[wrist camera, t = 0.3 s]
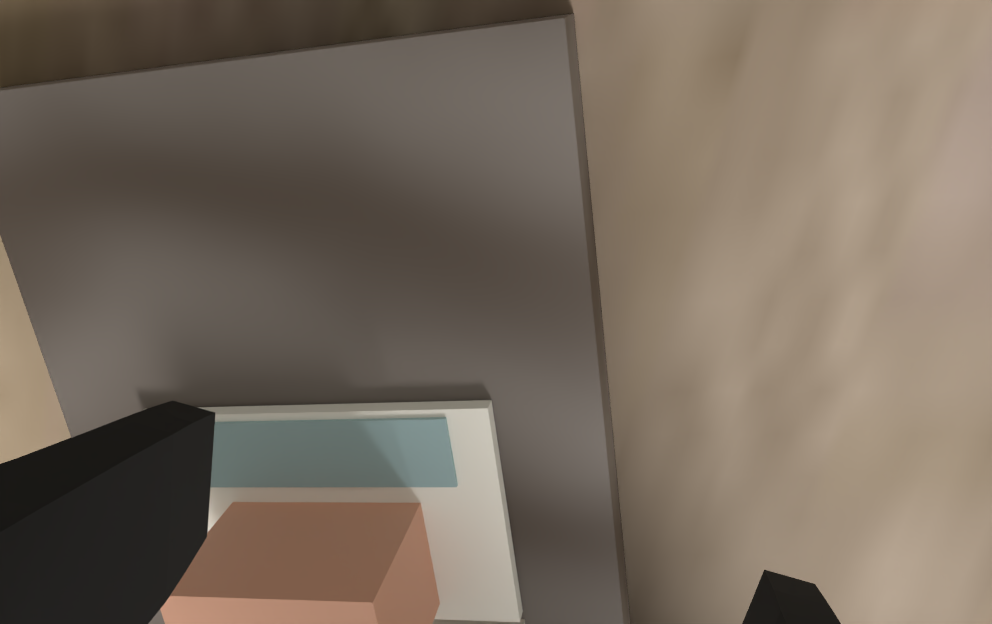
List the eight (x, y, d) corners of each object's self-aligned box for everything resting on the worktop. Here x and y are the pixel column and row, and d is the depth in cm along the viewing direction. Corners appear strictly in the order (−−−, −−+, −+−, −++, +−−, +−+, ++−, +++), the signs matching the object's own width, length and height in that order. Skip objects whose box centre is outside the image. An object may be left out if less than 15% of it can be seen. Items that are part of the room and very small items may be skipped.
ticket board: (646, 794, 25) (643, 858, 23) (221, 759, 28) (190, 814, 27) (573, 12, 17) (561, 19, 16) (0, 87, 21) (-66, 100, 19)
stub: (522, 611, 22) (491, 738, 18) (205, 600, 24) (121, 713, 20) (491, 400, 19) (448, 497, 16) (145, 408, 22) (39, 496, 18)
